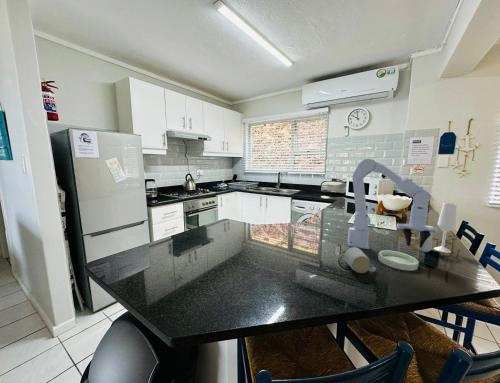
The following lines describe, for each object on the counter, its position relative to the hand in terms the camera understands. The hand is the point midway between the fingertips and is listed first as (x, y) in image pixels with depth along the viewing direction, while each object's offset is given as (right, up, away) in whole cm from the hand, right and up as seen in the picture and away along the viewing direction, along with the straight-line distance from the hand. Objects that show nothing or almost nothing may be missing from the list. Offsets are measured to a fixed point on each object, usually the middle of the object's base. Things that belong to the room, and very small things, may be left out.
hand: (413, 245), depth 96 cm
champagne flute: (+23, -5, +12) cm, 27 cm away
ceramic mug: (-31, -6, -12) cm, 33 cm away
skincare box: (+14, -5, +11) cm, 19 cm away
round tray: (-11, -6, -5) cm, 13 cm away
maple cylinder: (0, -1, 0) cm, 2 cm away
